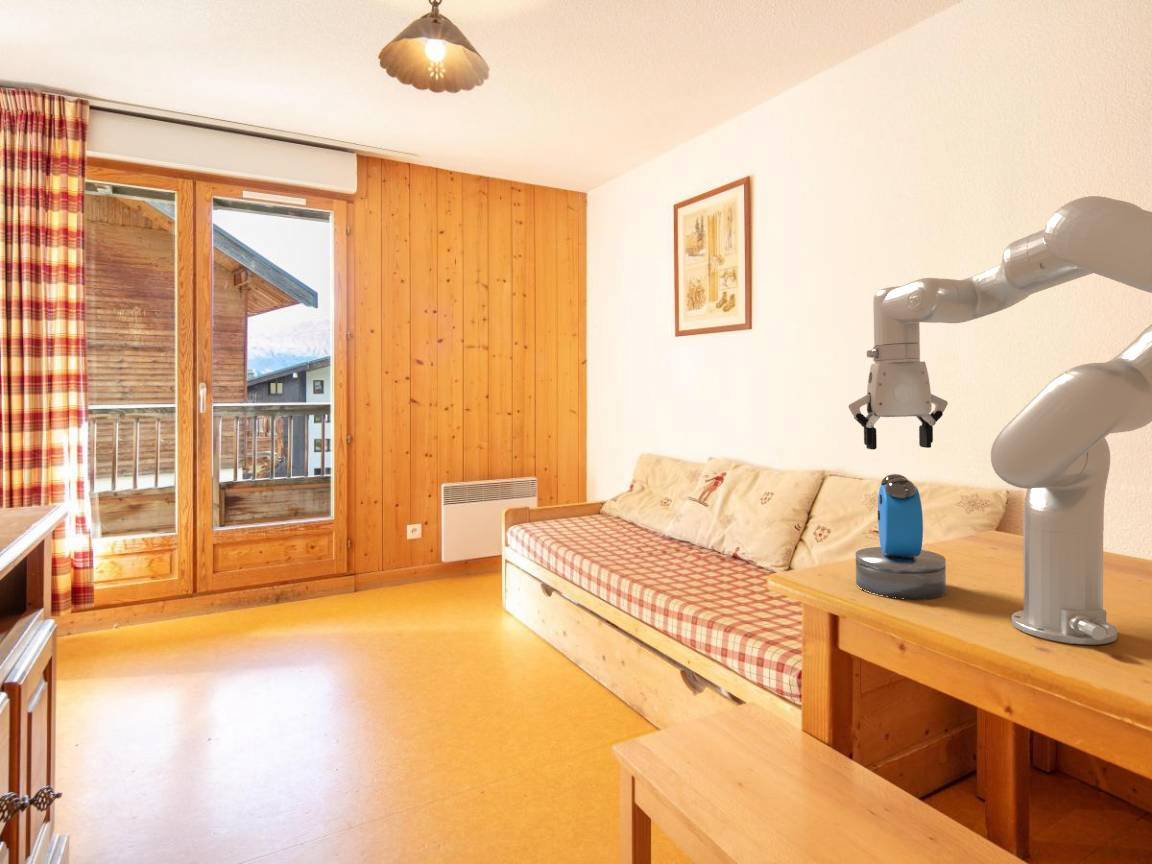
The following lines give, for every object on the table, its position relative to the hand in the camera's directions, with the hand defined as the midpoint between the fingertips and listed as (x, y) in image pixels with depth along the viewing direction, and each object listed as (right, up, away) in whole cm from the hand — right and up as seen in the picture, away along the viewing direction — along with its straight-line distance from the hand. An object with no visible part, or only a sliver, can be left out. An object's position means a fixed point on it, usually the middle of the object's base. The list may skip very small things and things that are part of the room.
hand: (898, 448), depth 119 cm
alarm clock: (+1, -20, +1) cm, 20 cm away
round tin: (+1, -26, +1) cm, 26 cm away
